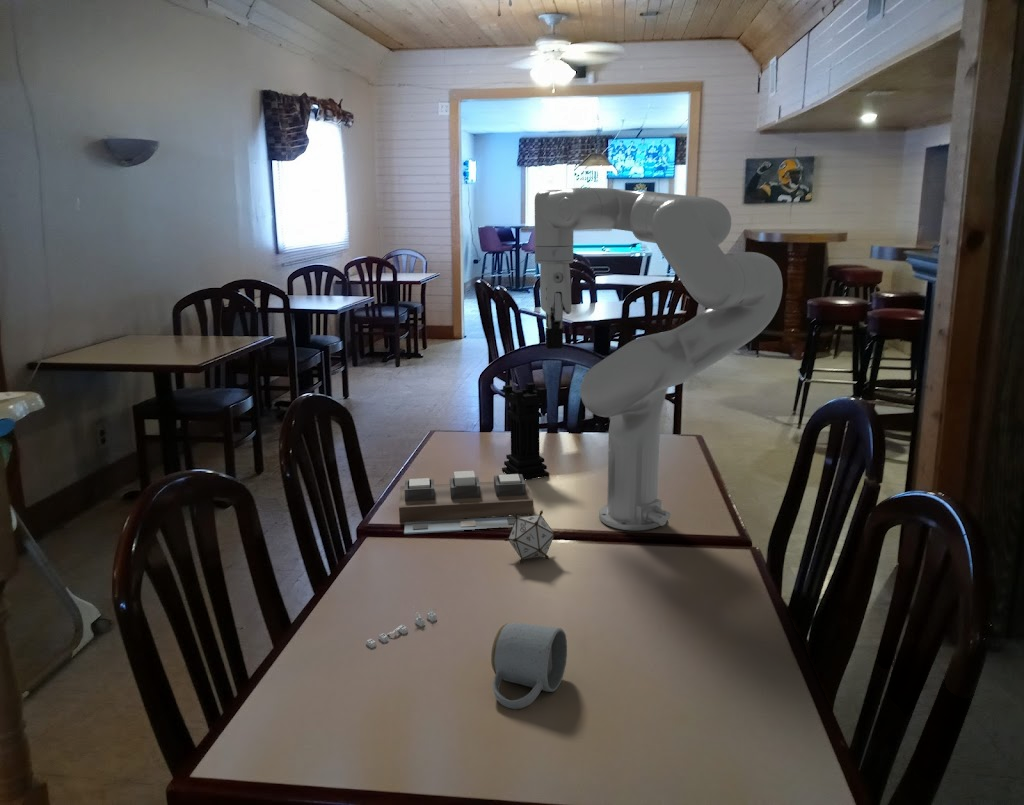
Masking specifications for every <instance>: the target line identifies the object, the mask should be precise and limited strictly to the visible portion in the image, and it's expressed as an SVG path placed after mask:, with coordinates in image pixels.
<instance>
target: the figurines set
mask: <svg viewBox="0 0 1024 805" xmlns="http://www.w3.org/2000/svg"><path fill="white" fill-rule="evenodd" d="M428 607H429V612H427V613H426V619H428V620H429V621H430V622H436V621H437V620H438V619H437V614H436V613H435V611H436V610H437V608H435V609H431V608H430V606H428ZM412 609H413V610H414V615H415V617H416V618H414V624H415V625H418V626H419V627H421V628H422V627H424V626H425V625H426V621H425V619H424V617H422V616H421V614H420V613H419V612H417V610H416V607H415V606H413V607H412ZM408 630H409V629H408V627H407V626H405V625H404V624H401V625H398V626H397V627H396V628H395V629H394V630H393V631H390V632H388V633H380V634H379V635H378V636H377V637H378V640H379V641H380V642H382V643H387V642H389V639H390V638H389V636H388V635H390V634H394V637H396V636H397V632H398V633H400V634H402V635H405V634H408V632H409V631H408ZM376 642H377V641H375V640H374V639H372V638H369V639H367V640H366V641H365V645H366V646H368V647H369V648H370V649H373V648H376V647H377V643H376Z"/></svg>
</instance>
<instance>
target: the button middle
mask: <svg viewBox="0 0 1024 805" xmlns="http://www.w3.org/2000/svg"><path fill="white" fill-rule="evenodd" d="M475 477H476V476H475V471H474V470H462V471H453V478H454V483H455V486H472V485H475Z"/></svg>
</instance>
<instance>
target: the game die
mask: <svg viewBox="0 0 1024 805" xmlns="http://www.w3.org/2000/svg"><path fill="white" fill-rule="evenodd" d="M543 512H544V511H543V509H541V511H539V514H533V515H524V516H525V517H517V515H515V514H514V516H513V517H515V518H516V520H515V523H514V525H513V528H511V529H510V530H511V531H510V532H509V536H508V537H505V538H504V539H503V541H505V542H509V543H510V545H511V546H512V547H513V549H514V550H515V552H516V553H517V555H518V556H519V558H520V560H519V564H520V565H521V564H522V563H523V561H524V560H528V559H535V558H539V557H545V559H547V560H550V557H549V555H548V551H549V549H550V546H551V545H552V543H553V540H554V538H555V536H559V535H560V533H559V532H557V531H556V532H554V531H553V529H552V527H551V526H549V524H548V522H547V521H546V520H545V518H544V516H542V515H543Z"/></svg>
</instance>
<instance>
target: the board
mask: <svg viewBox="0 0 1024 805" xmlns="http://www.w3.org/2000/svg"><path fill="white" fill-rule="evenodd" d="M499 475H500V474H499ZM499 475H493V481H483V482H481V481H480V478H479V476H475V485H472V486H455V483H454V477H449V483H441V484H439V483H438V484H435V479H434V478H429V480H430V488H412V489H409V479H405V480H404V485H402V486H400V491H399V505H398V516H399V523H404V530H403V534H404V535H413V534H414V535H415V534H430V533H431V534H432V533H451V532H465V531H464V530H472V531H476V530H475V529H487V528H499V527H501V528H503V527H513V525H514V523H515V520H516V518H515V517H514V516H509V515H514V514H515V515H523V516H517V517H525V516H529V515H528V514H533V515H534V499H533V496H532V494H531V491H530V488H529V486H528V483H527V480H524V478H523V476H522V474H518V475H519V478H520V483H512V484H499ZM492 516H504V517H492ZM479 517H486V518H479ZM464 518H467V519H464Z"/></svg>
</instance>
